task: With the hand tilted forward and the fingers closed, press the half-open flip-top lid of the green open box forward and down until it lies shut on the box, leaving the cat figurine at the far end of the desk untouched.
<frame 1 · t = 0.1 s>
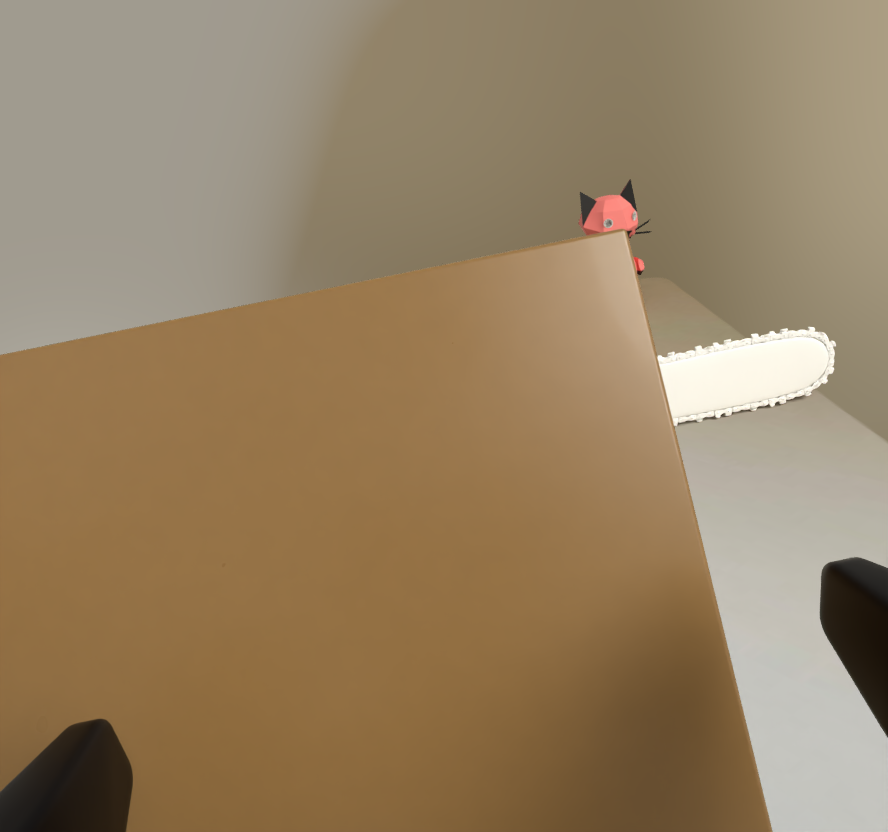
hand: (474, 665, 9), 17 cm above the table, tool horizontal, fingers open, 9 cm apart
chainsaw: (569, 420, 54), on the table
cat figurine: (615, 302, 77), on the table
tin lid: (364, 747, 11), point 15 cm above the table, hinge at 60.0°
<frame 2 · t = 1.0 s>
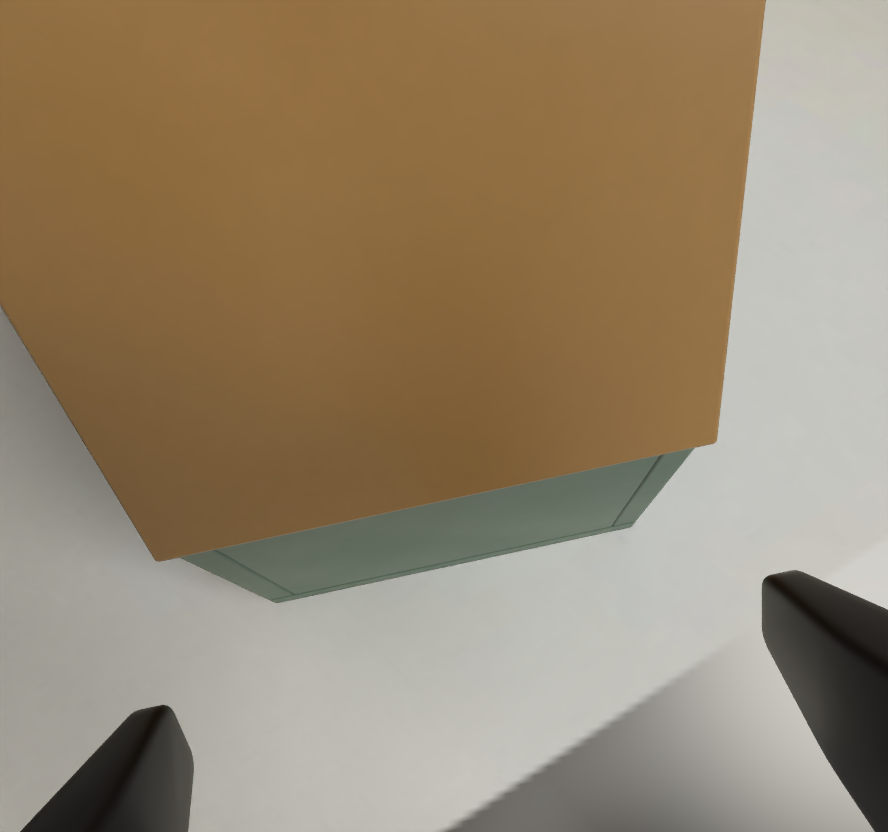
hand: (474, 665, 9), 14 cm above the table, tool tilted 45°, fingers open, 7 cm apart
green open box: (415, 375, 26), on the table
tin lid: (359, 138, 11), point 15 cm above the table, hinge at 60.0°
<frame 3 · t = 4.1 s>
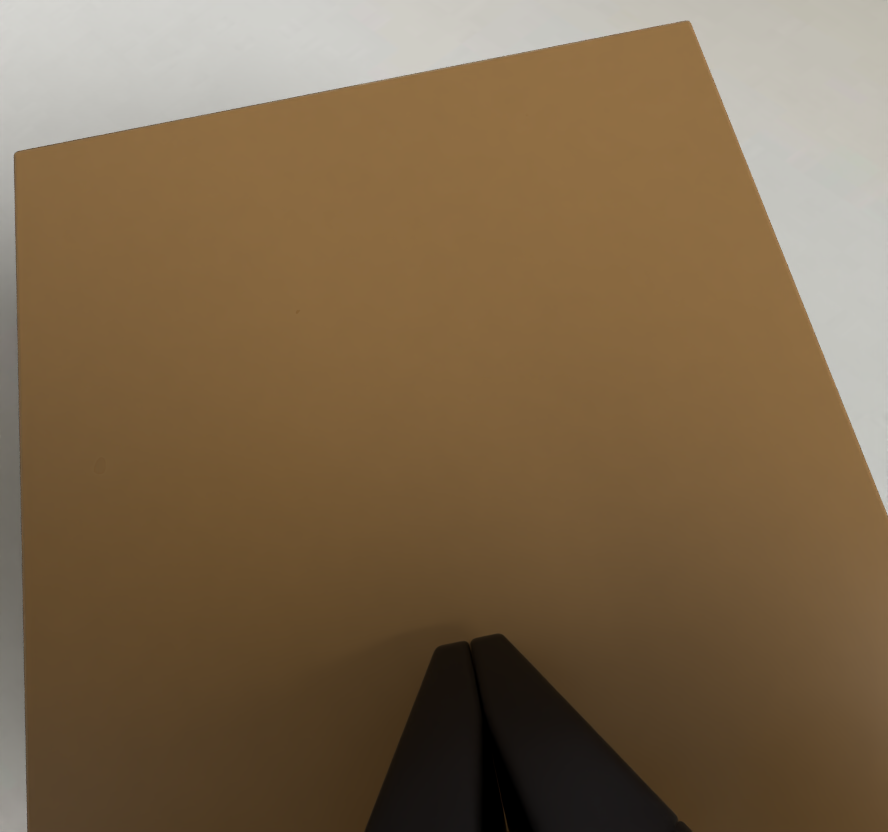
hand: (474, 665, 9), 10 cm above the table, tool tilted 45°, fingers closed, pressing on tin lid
tin lid: (441, 502, 10), point 9 cm above the table, hinge at 3.3°, touching gripper
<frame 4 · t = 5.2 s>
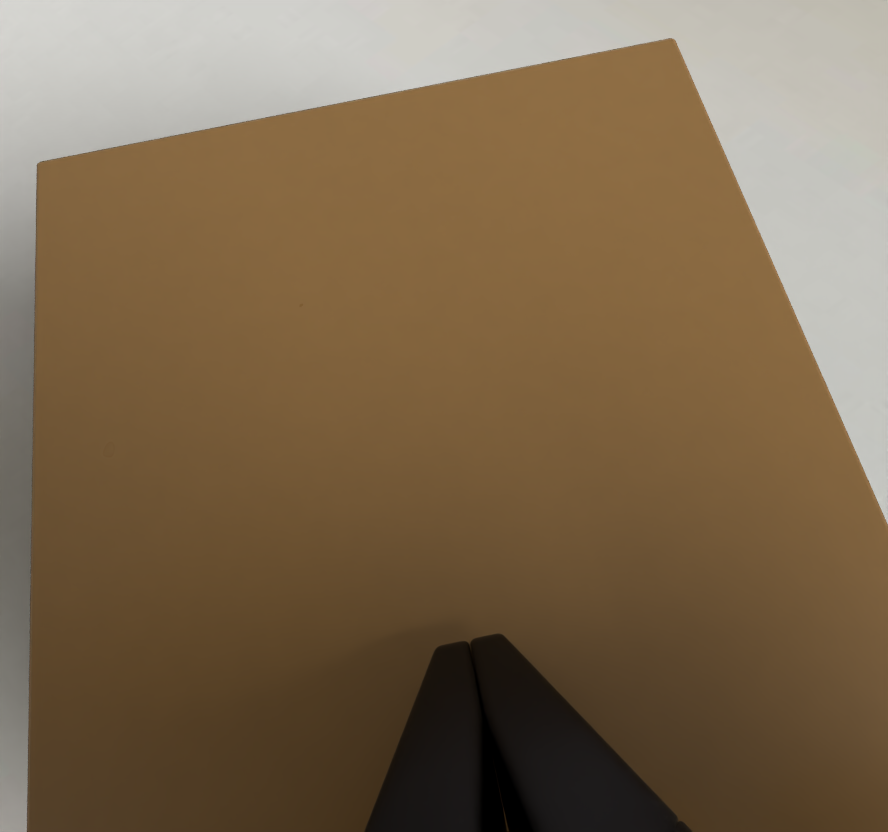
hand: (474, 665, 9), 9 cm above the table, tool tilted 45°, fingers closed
tin lid: (437, 485, 11), point 9 cm above the table, hinge at -0.2°, touching green open box
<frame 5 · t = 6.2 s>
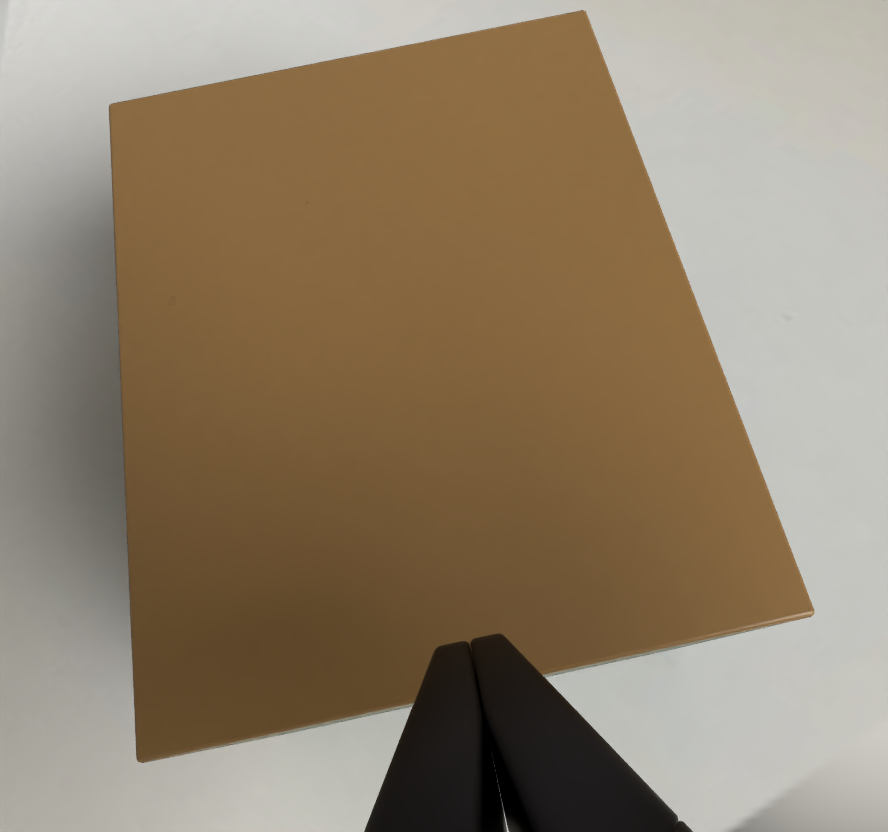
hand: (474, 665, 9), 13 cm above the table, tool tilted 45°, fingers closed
green open box: (435, 466, 23), on the table
tin lid: (404, 324, 15), point 9 cm above the table, hinge at -0.2°, touching green open box
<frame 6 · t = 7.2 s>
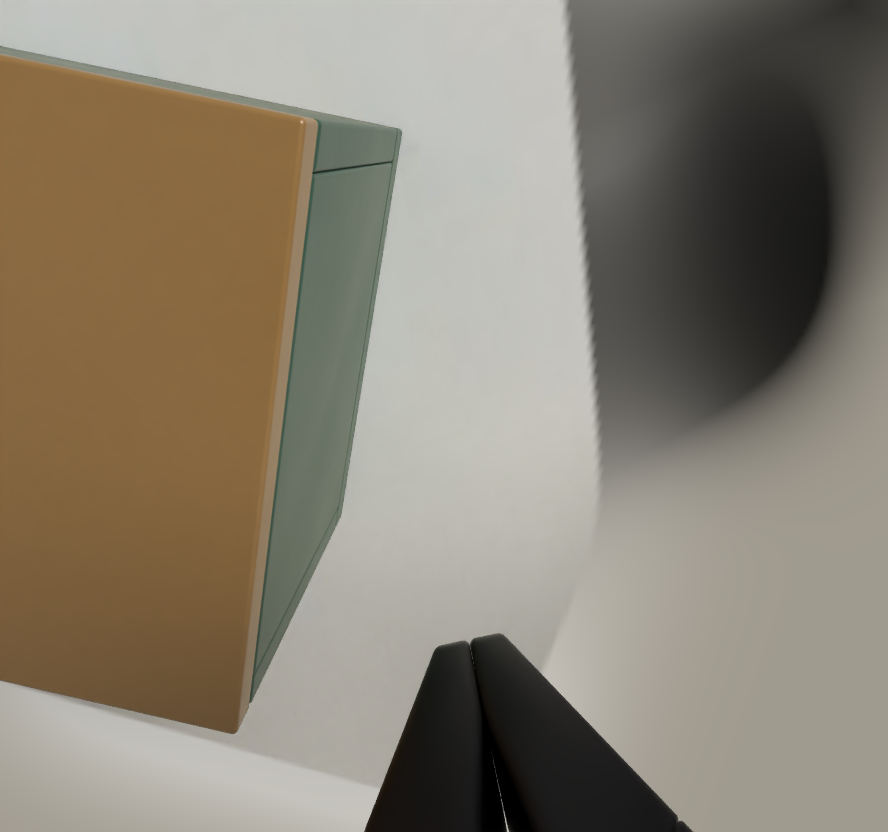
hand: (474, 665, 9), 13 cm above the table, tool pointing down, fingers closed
green open box: (139, 293, 21), on the table
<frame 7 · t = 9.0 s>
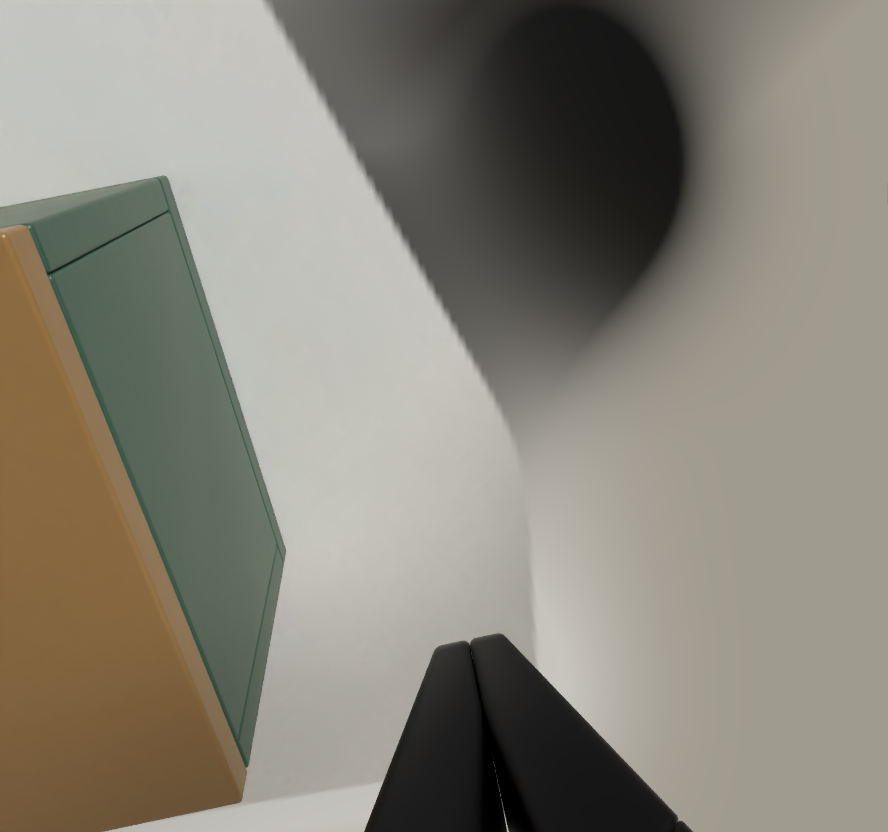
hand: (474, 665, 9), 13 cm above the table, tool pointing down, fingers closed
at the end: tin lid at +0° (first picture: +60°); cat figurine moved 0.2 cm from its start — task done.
